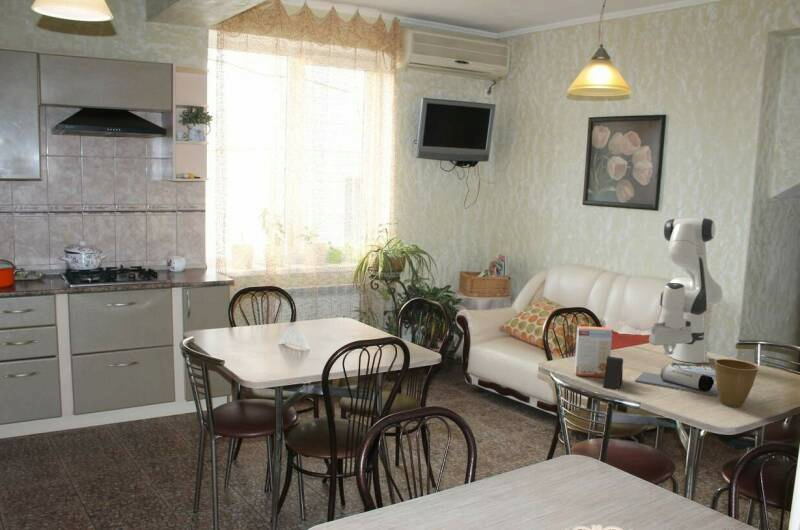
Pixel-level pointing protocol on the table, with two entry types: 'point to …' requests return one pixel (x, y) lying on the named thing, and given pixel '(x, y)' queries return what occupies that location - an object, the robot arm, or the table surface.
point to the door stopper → (613, 373)
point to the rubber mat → (672, 384)
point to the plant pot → (734, 381)
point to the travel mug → (686, 378)
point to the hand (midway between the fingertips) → (668, 354)
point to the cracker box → (592, 350)
